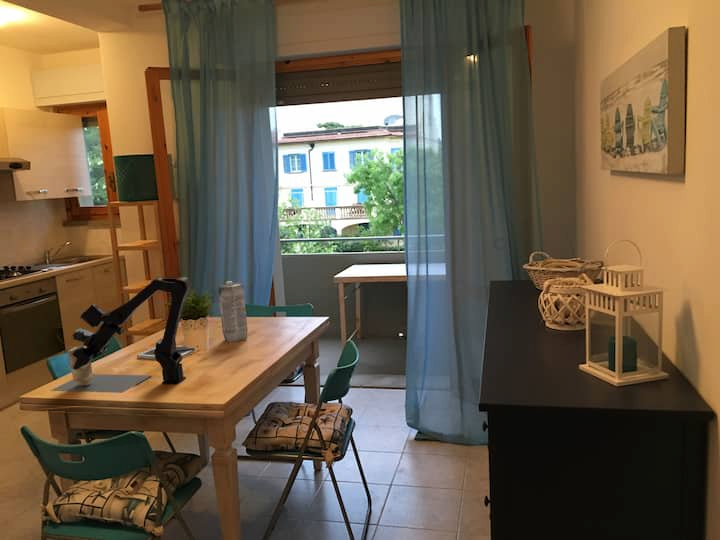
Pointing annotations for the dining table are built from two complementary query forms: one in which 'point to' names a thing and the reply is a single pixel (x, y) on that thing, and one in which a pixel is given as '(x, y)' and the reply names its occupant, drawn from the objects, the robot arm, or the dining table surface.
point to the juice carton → (233, 311)
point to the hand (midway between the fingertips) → (77, 366)
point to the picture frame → (180, 349)
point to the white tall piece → (80, 370)
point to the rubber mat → (105, 383)
